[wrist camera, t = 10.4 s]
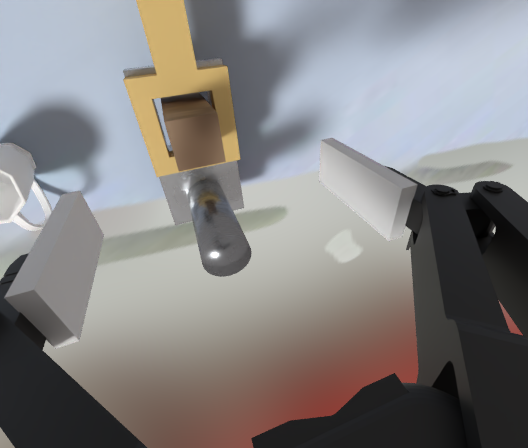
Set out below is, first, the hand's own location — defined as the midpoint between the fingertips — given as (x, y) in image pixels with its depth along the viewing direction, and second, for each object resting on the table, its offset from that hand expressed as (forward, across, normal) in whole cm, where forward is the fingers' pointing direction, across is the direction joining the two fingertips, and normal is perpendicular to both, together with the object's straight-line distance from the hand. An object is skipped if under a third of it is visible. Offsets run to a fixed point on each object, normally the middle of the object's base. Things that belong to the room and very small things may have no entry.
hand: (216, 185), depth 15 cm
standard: (+22, 0, -4) cm, 23 cm away
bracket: (+22, 0, +5) cm, 23 cm away
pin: (+22, 0, 0) cm, 22 cm away
